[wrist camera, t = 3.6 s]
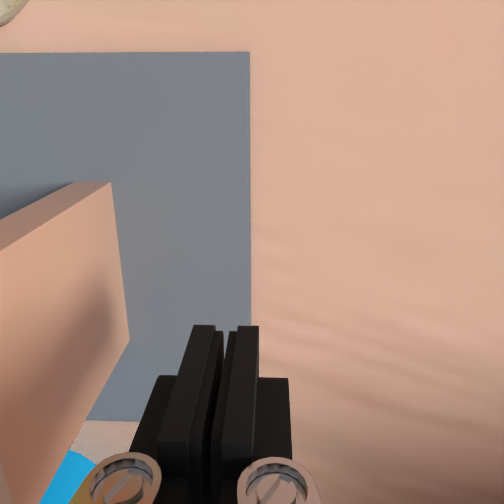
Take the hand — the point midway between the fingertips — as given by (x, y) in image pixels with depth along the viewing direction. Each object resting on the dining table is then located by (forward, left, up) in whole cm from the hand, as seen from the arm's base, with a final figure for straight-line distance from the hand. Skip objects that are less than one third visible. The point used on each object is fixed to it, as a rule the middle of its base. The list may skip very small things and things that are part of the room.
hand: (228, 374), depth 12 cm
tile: (+6, 0, -7) cm, 9 cm away
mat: (+8, 0, -7) cm, 11 cm away
